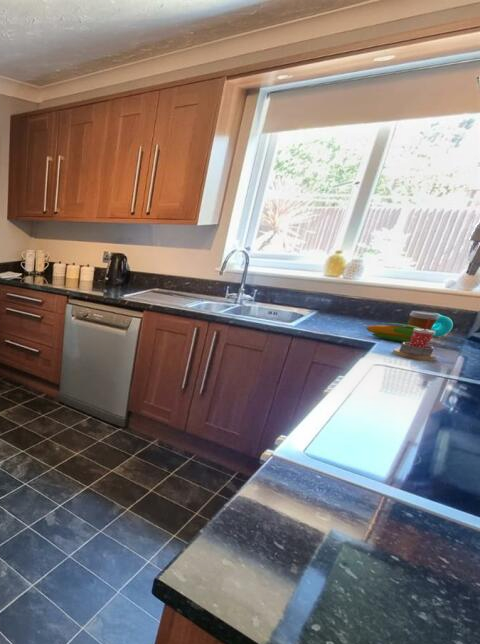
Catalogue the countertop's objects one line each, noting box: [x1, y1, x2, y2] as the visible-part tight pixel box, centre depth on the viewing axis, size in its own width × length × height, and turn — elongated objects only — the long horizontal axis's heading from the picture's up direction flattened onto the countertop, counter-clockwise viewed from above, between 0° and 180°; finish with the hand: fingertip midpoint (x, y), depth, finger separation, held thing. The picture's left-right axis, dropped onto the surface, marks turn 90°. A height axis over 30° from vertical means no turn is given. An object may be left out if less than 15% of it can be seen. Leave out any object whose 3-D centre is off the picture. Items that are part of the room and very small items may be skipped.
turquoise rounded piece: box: [431, 312, 454, 338], centre depth 199 cm, size 10×10×10 cm
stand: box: [392, 342, 437, 362], centre depth 166 cm, size 12×12×4 cm
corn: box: [365, 322, 421, 343], centre depth 188 cm, size 7×8×20 cm
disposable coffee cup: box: [406, 310, 440, 330], centre depth 191 cm, size 10×10×12 cm
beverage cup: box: [409, 317, 436, 348], centre depth 163 cm, size 6×6×14 cm
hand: (470, 274), depth 162 cm, fingers open, 8 cm apart
